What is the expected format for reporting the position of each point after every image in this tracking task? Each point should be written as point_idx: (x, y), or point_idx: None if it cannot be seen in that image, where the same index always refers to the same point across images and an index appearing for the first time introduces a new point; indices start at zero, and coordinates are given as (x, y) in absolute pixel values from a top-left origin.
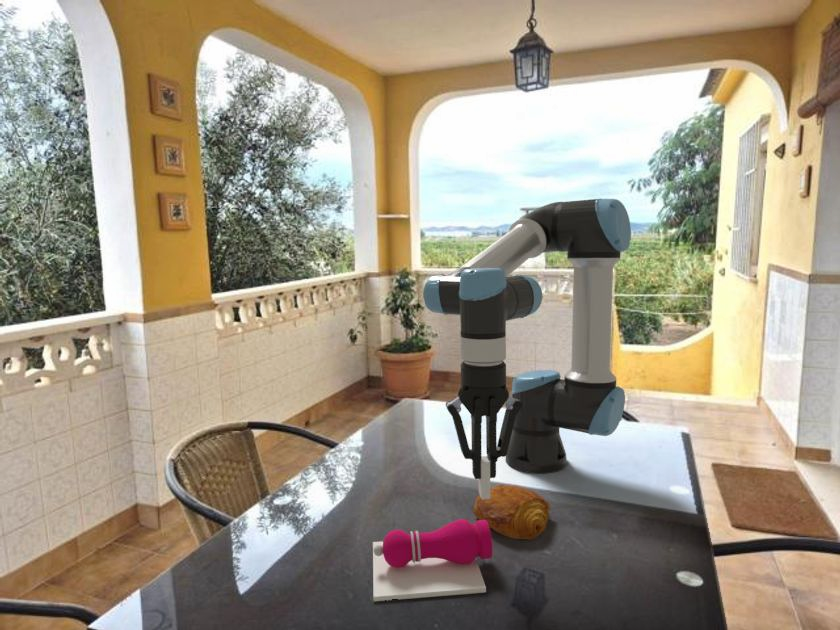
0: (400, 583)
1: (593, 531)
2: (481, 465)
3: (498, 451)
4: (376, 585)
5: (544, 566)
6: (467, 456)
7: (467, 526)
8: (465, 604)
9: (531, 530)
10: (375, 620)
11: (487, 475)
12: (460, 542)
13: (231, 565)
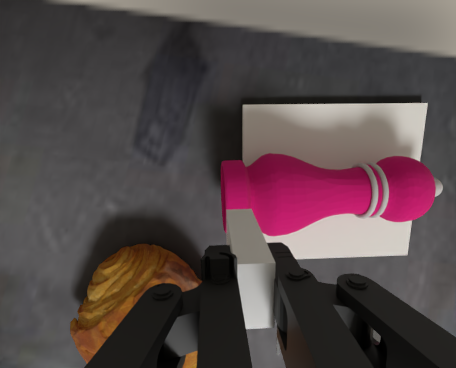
0: (380, 133)
1: (9, 262)
2: (272, 257)
3: (187, 309)
4: (418, 132)
5: (127, 165)
6: (356, 277)
7: (275, 190)
8: (281, 78)
9: (126, 248)
10: (424, 56)
11: (241, 238)
12: (290, 162)
13: None
